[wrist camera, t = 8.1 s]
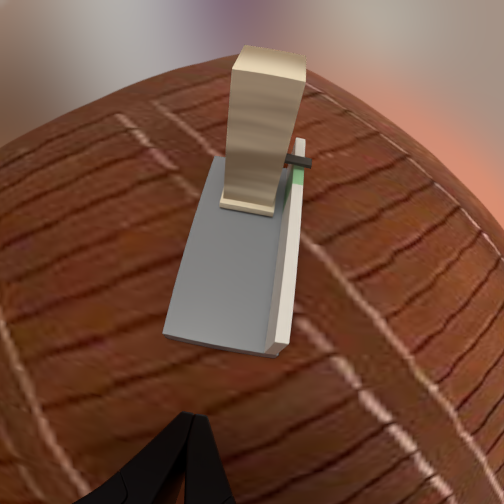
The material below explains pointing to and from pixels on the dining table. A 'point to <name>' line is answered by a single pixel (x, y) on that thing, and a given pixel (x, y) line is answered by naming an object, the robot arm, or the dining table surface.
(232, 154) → the beige brown box
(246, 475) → the dining table surface
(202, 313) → the board
